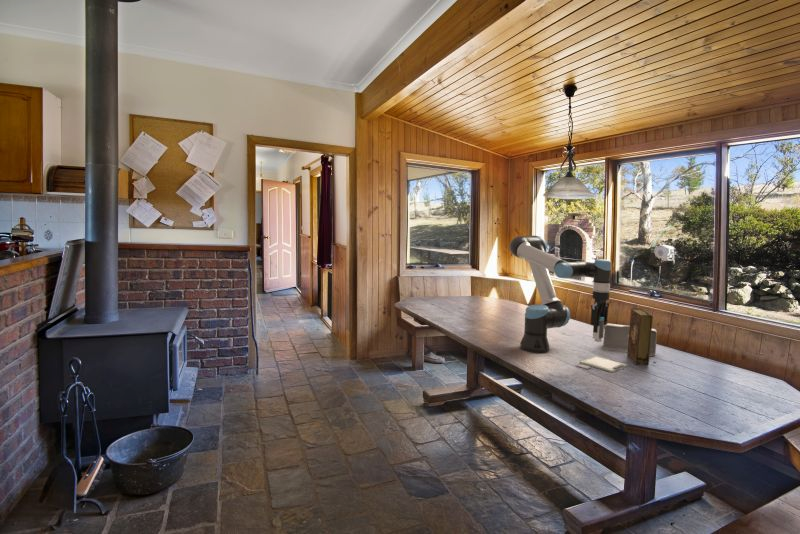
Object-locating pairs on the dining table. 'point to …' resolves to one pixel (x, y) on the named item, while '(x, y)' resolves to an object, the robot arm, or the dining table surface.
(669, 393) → the dining table surface
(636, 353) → the book
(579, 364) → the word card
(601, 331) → the marker
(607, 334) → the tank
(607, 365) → the cream square framed board
